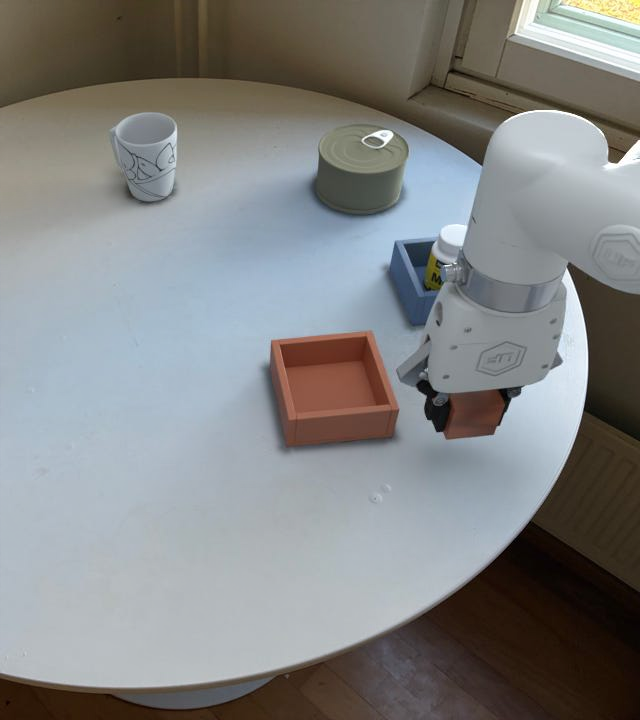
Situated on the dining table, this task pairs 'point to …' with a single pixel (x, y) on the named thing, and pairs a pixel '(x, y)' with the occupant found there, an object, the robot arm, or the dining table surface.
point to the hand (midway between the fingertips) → (462, 416)
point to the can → (361, 168)
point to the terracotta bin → (332, 388)
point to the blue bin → (413, 276)
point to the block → (473, 414)
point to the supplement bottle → (443, 254)
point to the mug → (146, 154)
